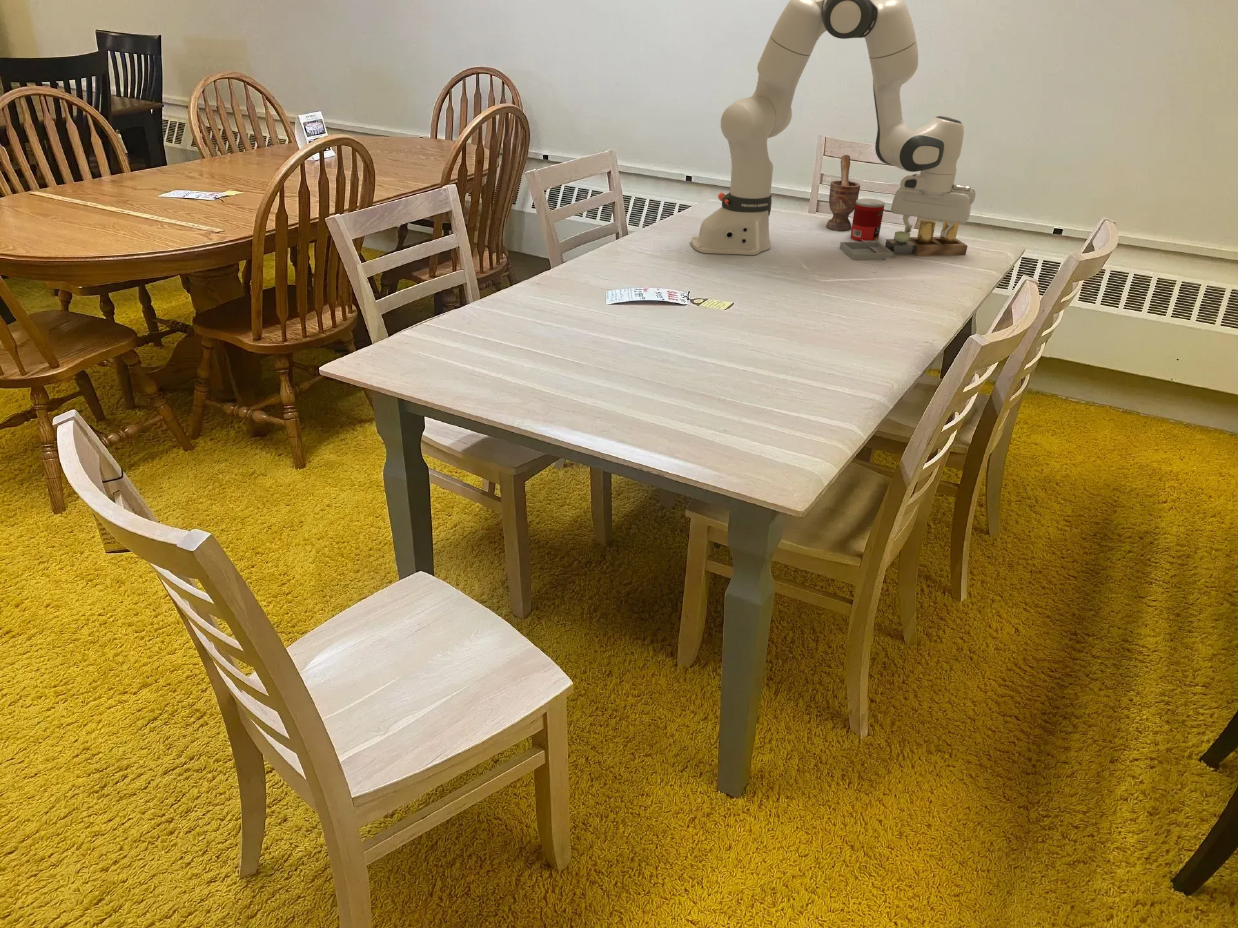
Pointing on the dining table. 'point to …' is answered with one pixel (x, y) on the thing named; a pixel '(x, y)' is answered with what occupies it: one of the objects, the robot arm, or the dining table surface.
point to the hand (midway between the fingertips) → (925, 234)
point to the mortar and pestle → (842, 198)
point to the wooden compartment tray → (939, 248)
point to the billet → (925, 232)
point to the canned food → (867, 219)
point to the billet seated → (949, 233)
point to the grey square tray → (865, 250)
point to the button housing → (900, 247)
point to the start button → (901, 237)
